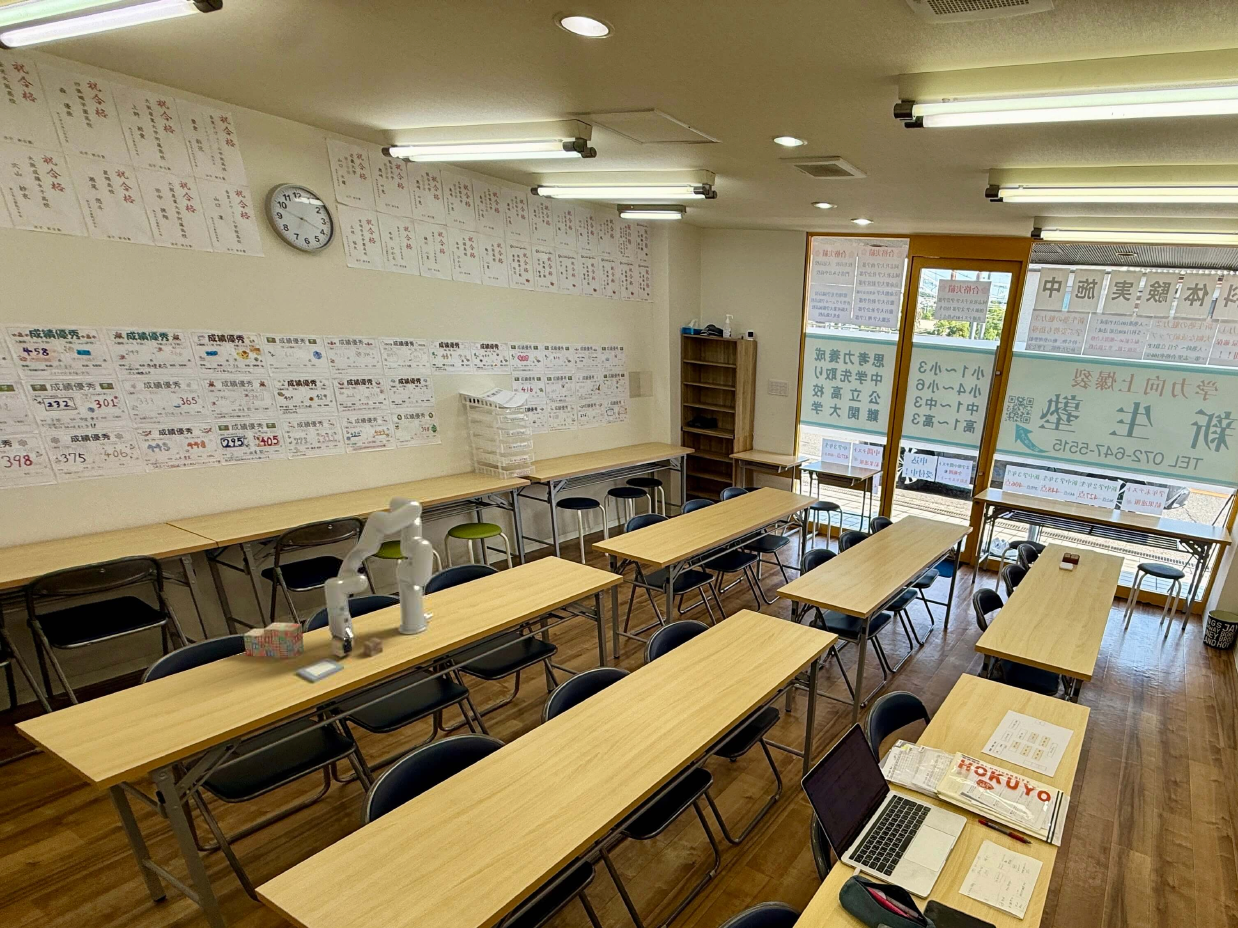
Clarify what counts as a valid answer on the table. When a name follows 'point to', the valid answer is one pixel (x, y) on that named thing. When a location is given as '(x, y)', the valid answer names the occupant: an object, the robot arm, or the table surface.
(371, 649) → the walnut cube
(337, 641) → the oak block
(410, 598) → the robot arm
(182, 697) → the table surface
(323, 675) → the base board
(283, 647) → the stack of blocks
